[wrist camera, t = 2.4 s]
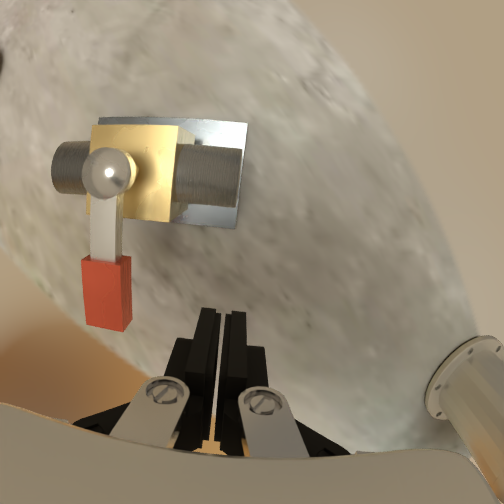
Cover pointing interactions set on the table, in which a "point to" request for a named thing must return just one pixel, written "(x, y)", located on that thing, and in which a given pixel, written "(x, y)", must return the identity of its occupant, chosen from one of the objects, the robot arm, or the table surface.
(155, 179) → the valve
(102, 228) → the lever
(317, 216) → the table surface
